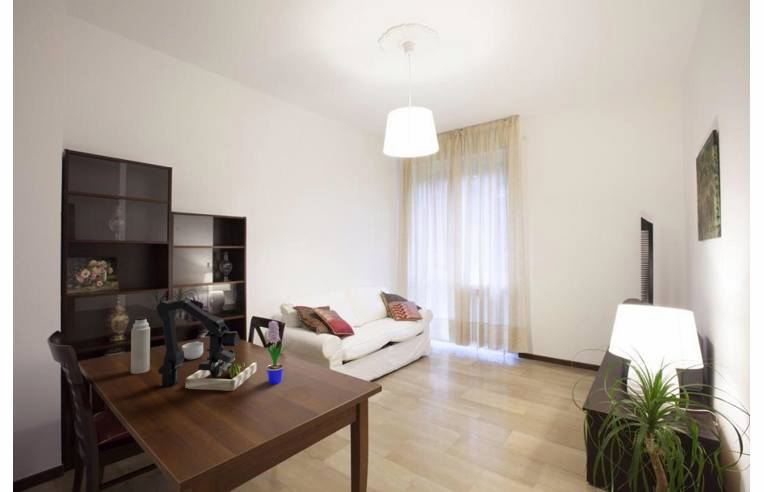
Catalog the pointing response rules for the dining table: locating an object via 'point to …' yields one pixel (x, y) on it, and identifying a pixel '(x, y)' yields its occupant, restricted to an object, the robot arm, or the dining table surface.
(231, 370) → the passion flower
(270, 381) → the hyacinth
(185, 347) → the teacup
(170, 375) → the robot arm
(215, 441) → the dining table surface
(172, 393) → the dining table surface
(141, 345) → the thermos bottle
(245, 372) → the pale wooden open frame
